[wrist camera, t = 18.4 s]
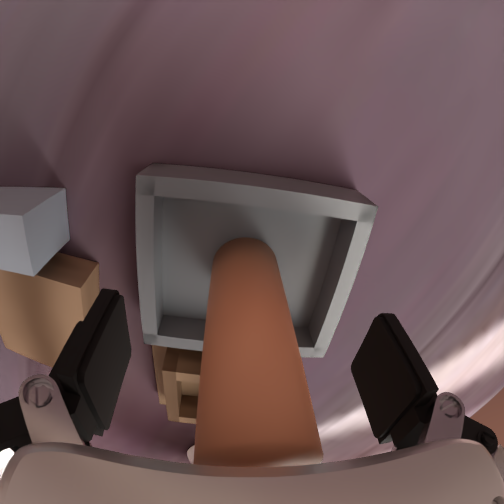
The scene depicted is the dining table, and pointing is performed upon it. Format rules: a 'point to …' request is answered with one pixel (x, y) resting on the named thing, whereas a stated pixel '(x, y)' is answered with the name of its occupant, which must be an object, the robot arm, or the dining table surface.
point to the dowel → (252, 368)
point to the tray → (238, 226)
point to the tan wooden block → (46, 306)
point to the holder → (178, 381)
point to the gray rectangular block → (31, 227)
